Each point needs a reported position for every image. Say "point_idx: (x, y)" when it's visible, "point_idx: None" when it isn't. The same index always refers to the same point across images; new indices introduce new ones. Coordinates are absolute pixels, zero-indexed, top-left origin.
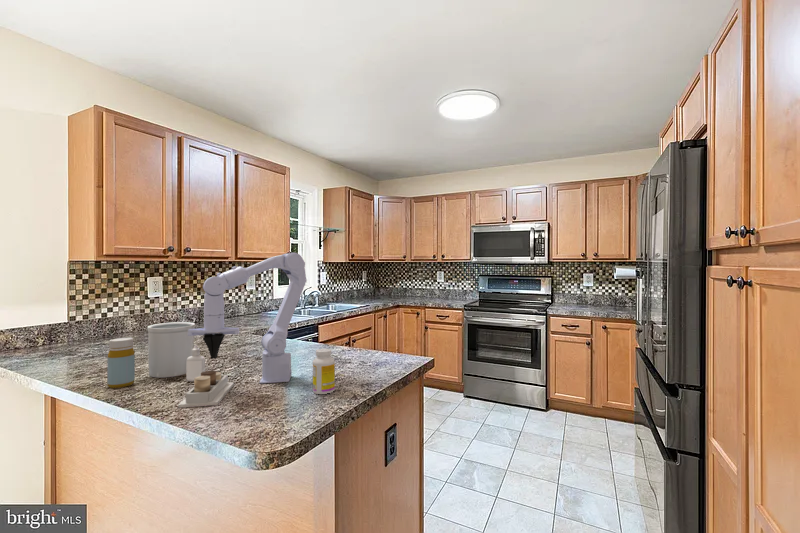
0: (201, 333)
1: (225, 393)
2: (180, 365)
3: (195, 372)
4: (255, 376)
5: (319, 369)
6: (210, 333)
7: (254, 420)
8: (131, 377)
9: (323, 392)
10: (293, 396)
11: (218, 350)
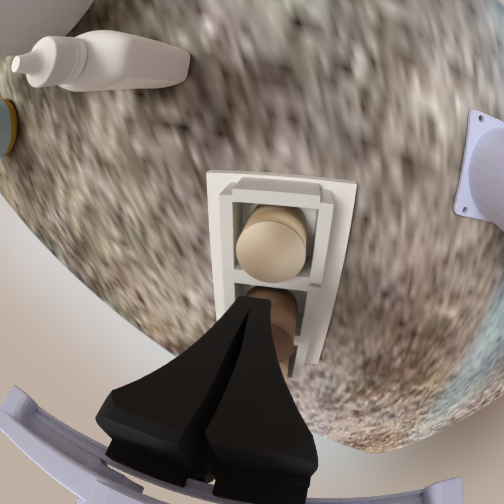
0: (91, 457)
1: (333, 301)
2: (58, 9)
3: (139, 88)
4: (435, 77)
5: None
6: (168, 489)
7: (382, 416)
8: (2, 133)
9: None
10: (483, 343)
11: (271, 333)
